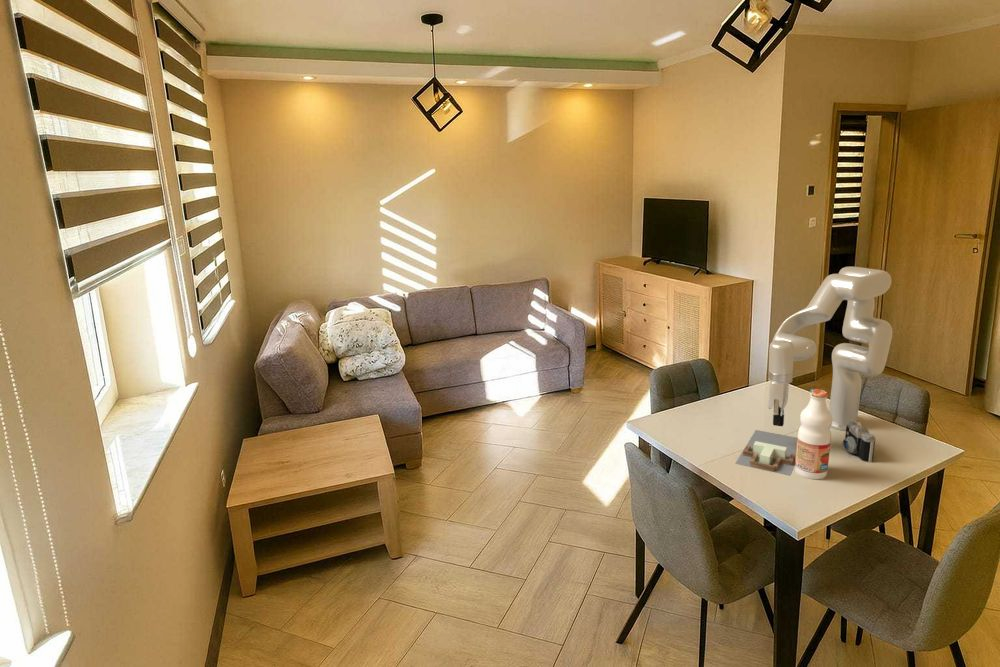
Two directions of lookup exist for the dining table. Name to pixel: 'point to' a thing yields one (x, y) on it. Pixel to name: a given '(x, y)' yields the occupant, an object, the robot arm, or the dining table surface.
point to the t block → (769, 452)
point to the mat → (775, 440)
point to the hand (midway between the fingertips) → (778, 424)
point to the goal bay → (766, 466)
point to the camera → (859, 442)
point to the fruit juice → (814, 438)
